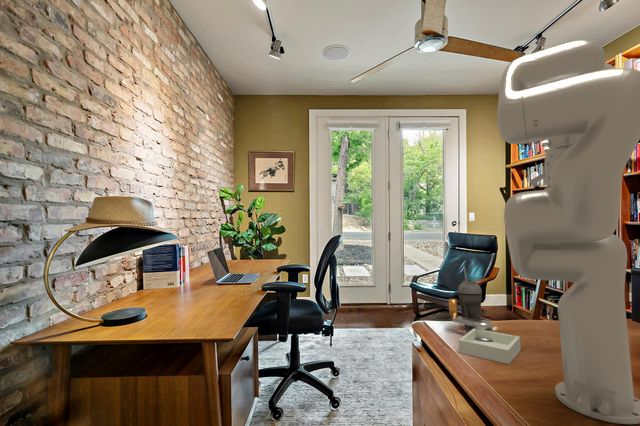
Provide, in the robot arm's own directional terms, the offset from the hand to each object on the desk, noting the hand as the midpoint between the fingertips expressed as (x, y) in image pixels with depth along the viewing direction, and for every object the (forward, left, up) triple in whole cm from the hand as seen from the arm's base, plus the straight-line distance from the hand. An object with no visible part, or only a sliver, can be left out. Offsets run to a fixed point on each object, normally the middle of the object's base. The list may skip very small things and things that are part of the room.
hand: (573, 208), depth 78 cm
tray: (-11, +19, -36) cm, 42 cm away
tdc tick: (+8, +23, -36) cm, 44 cm away
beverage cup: (+4, +28, -37) cm, 46 cm away
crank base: (-3, +23, -36) cm, 43 cm away
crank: (-2, +26, -33) cm, 42 cm away
